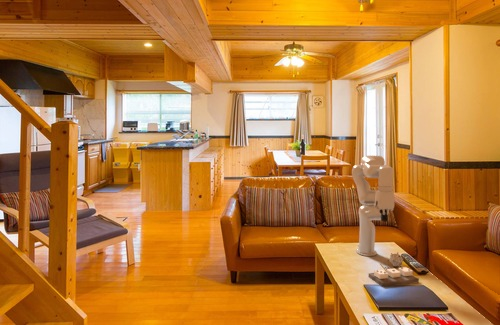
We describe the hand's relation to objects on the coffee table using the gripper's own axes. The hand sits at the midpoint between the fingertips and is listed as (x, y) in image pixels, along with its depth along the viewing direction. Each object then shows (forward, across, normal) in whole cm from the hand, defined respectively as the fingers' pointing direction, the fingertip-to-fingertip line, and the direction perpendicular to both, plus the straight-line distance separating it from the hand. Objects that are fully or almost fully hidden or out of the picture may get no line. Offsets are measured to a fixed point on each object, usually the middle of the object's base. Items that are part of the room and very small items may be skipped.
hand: (384, 221), depth 189 cm
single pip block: (+27, +1, +11) cm, 29 cm away
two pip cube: (+27, -6, +11) cm, 30 cm away
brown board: (+29, +1, +11) cm, 31 cm away
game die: (+29, -12, -4) cm, 32 cm away
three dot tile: (+27, +8, +11) cm, 30 cm away
